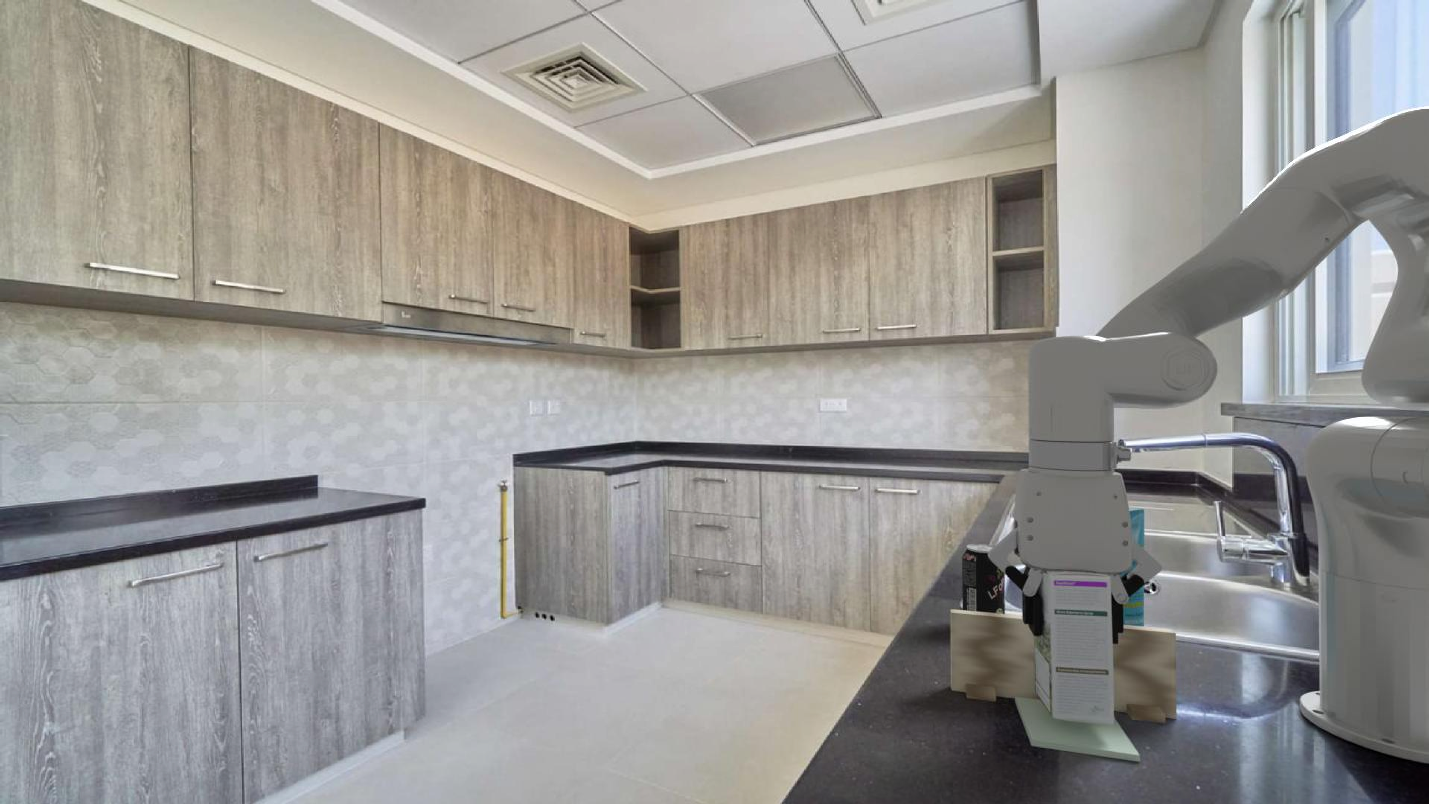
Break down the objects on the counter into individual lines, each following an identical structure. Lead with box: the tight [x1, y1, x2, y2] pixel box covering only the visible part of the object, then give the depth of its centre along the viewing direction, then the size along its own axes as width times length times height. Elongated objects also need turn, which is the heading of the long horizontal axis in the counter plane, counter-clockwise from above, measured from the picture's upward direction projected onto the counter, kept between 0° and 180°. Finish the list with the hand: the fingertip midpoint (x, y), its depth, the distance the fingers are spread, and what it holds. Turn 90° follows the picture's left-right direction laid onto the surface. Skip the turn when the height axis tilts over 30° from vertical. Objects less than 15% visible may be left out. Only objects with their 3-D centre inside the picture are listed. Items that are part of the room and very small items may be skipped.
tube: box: [1118, 508, 1146, 627], centre depth 79 cm, size 7×5×19 cm, turn 111°
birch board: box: [949, 608, 1178, 724], centre depth 67 cm, size 22×4×9 cm, turn 73°
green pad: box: [1014, 697, 1141, 763], centre depth 61 cm, size 9×9×1 cm
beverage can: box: [961, 543, 1006, 614], centre depth 89 cm, size 6×6×12 cm
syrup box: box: [1034, 570, 1115, 725], centre depth 61 cm, size 6×6×14 cm
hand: (1071, 633), depth 61 cm, fingers closed on syrup box, 6 cm apart
